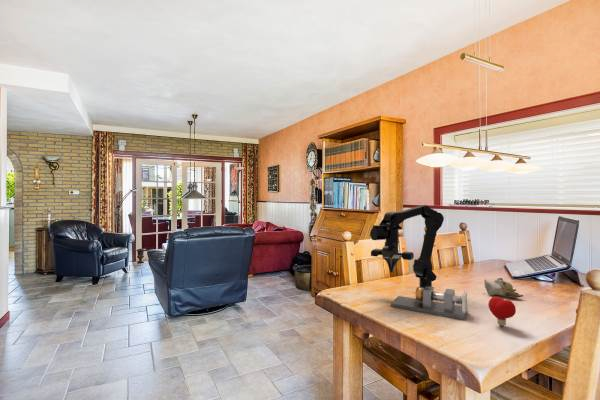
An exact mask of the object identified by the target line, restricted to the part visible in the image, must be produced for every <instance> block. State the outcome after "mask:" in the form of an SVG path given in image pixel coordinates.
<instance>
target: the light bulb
mask: <svg viewBox="0 0 600 400" xmlns="http://www.w3.org/2000/svg"><path fill="white" fill-rule="evenodd" d="M487 305H488V306H487V307H488V309H489V310H490V312H491V314H492V315H493V316H494V317H495V318H496V319H497V324H498V326H499V327H504V326H506V325H507V319H510V318H512V317H514V316H515V315H516V312H517V310H516V306H515V304H514V302H513V301H512V300H510V299H504V298H502V297H501V296H493V297H491V298H490V299H489V300H488V304H487Z"/></svg>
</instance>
